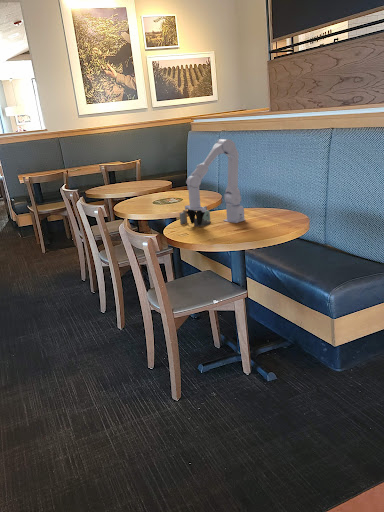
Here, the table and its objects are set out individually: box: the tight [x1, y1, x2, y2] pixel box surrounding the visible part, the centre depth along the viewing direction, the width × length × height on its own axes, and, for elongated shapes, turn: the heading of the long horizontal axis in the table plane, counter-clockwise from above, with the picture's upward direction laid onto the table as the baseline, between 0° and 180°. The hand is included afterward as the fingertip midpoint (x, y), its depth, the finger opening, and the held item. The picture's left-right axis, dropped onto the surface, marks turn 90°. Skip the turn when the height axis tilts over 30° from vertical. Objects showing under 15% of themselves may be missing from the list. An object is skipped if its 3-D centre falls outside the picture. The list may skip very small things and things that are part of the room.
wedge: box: [193, 217, 211, 228], centre depth 242 cm, size 8×4×4 cm, turn 133°
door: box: [203, 209, 211, 222], centre depth 251 cm, size 2×9×6 cm, turn 42°
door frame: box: [179, 205, 208, 225], centre depth 253 cm, size 2×20×7 cm, turn 133°
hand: (196, 223), depth 239 cm, fingers closed on wedge, 4 cm apart
